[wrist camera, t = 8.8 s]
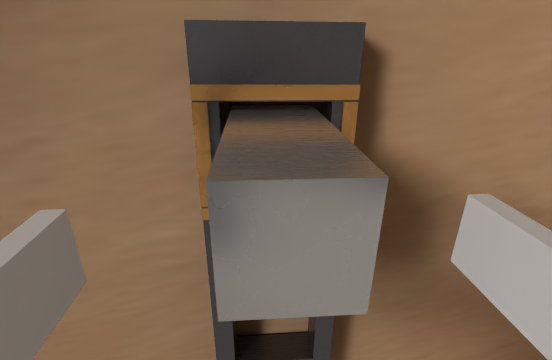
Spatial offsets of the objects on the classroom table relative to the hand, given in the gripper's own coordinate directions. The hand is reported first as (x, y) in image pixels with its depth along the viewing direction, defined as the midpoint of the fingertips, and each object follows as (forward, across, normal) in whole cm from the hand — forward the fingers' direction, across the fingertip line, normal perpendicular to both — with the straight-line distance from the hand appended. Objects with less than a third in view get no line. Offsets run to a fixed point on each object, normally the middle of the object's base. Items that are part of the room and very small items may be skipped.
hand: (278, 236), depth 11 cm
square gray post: (+11, +1, 0) cm, 11 cm away
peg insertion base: (+11, +1, -7) cm, 13 cm away
